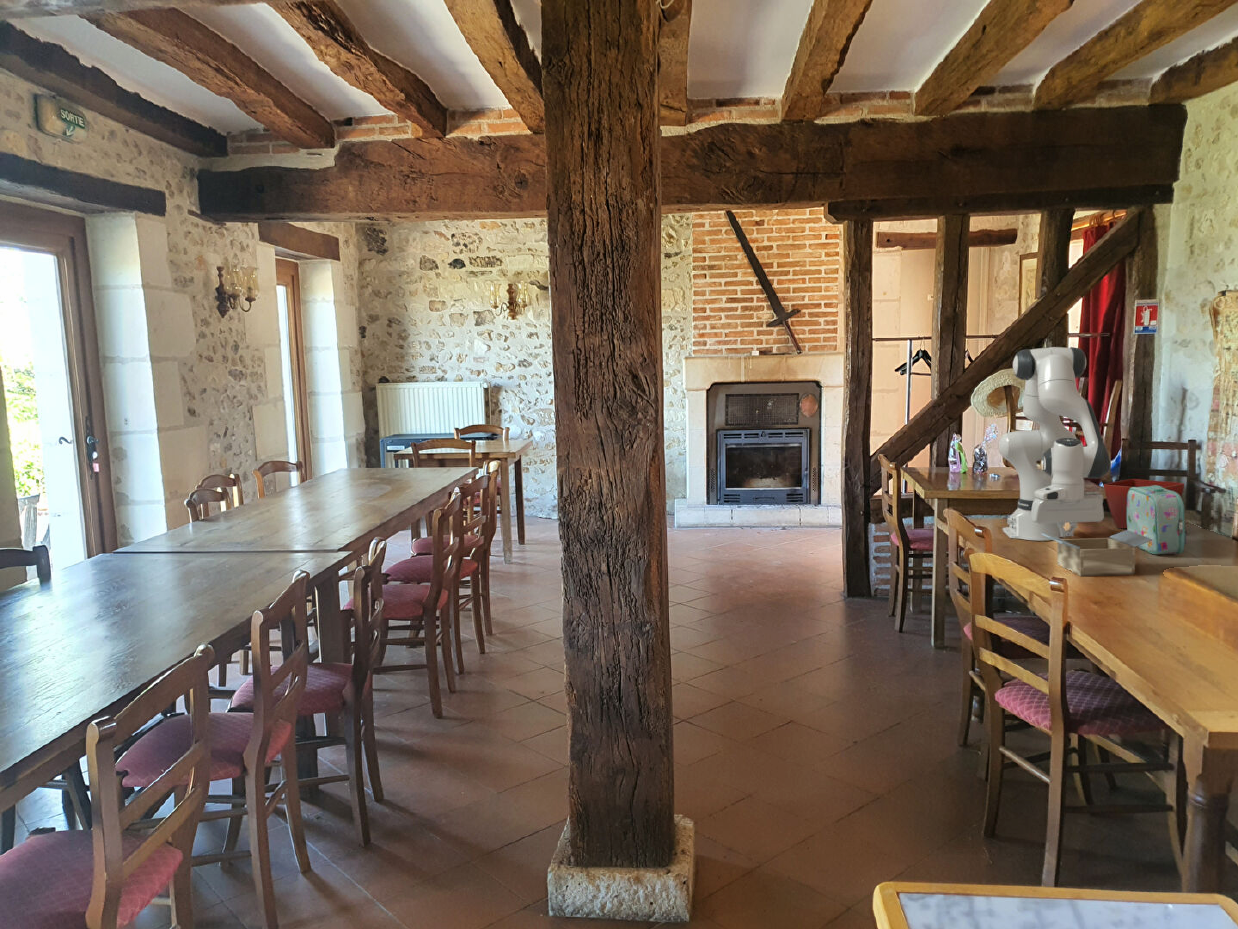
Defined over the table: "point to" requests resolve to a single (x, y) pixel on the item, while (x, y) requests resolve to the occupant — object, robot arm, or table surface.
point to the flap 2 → (1131, 538)
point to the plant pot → (1119, 492)
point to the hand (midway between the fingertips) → (1066, 536)
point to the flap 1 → (1060, 541)
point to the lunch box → (1157, 518)
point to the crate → (1096, 557)
